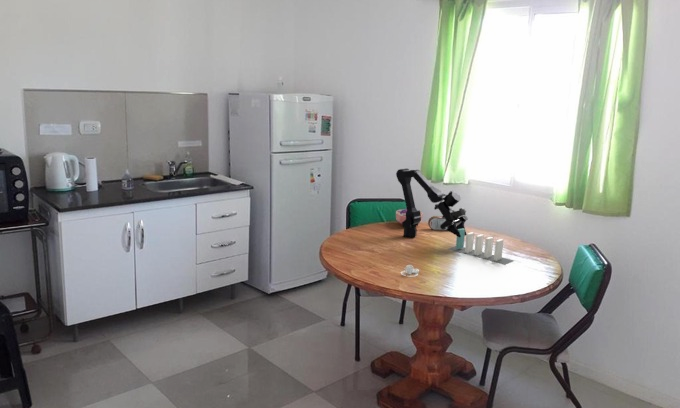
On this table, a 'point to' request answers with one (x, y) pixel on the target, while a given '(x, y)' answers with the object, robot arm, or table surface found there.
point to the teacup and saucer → (410, 271)
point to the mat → (482, 256)
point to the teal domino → (460, 239)
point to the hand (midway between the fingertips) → (463, 236)
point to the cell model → (403, 215)
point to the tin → (436, 223)
